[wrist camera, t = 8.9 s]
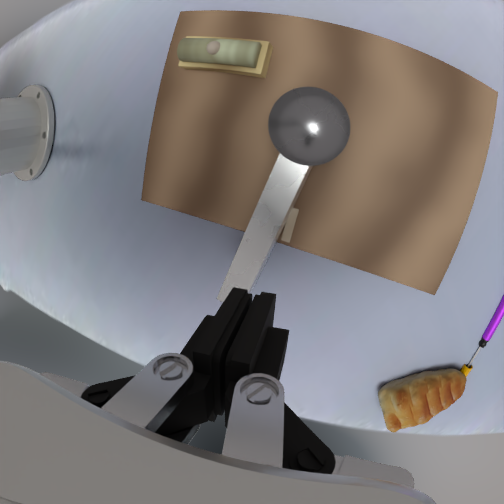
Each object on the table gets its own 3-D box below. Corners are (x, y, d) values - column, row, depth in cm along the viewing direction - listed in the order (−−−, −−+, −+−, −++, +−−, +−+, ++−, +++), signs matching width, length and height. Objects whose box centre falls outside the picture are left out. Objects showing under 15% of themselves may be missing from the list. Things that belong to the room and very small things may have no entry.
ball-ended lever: (298, 91, 16) (286, 74, 12) (356, 117, 16) (363, 108, 12) (222, 265, 22) (197, 292, 18) (270, 290, 21) (254, 323, 17)
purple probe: (516, 257, 17) (441, 391, 23) (523, 263, 16) (445, 399, 22) (528, 261, 17) (457, 389, 23) (536, 267, 16) (461, 396, 22)
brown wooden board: (154, 195, 24) (119, 207, 20) (192, 19, 18) (161, -1, 13) (428, 283, 20) (444, 314, 16) (486, 95, 14) (517, 87, 9)
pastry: (459, 349, 21) (470, 376, 17) (464, 389, 22) (472, 414, 19) (373, 384, 25) (373, 413, 21) (389, 418, 26) (390, 444, 22)
